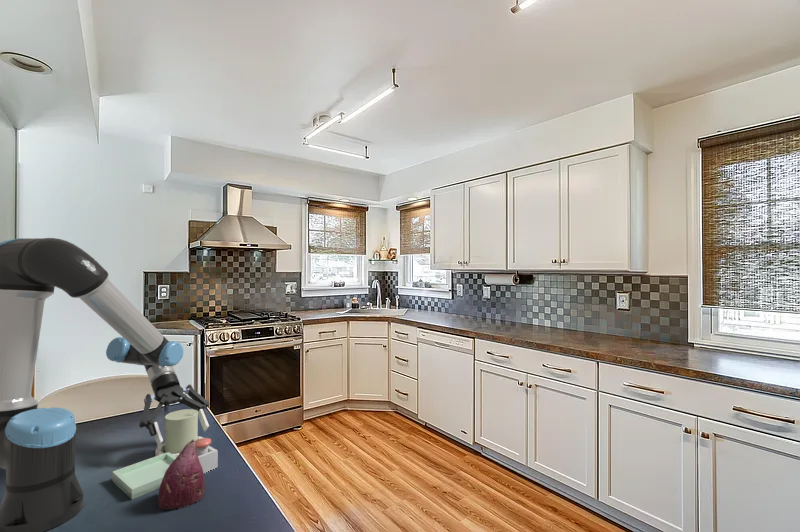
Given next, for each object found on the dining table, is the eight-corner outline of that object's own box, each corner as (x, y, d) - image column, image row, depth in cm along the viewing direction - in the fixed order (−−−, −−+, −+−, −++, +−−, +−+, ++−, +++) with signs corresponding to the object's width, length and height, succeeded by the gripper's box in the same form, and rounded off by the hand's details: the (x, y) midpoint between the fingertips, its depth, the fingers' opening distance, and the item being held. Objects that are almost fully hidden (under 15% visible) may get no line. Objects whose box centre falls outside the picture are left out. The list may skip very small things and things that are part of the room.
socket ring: (167, 466, 111) (167, 460, 111) (148, 453, 120) (148, 447, 120) (214, 449, 122) (214, 443, 122) (193, 437, 130) (193, 432, 130)
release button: (197, 469, 107) (197, 446, 107) (189, 464, 110) (189, 442, 110) (214, 462, 110) (214, 440, 111) (206, 458, 113) (206, 436, 113)
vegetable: (192, 495, 103) (204, 434, 107) (210, 505, 96) (222, 439, 101) (148, 503, 95) (162, 436, 99) (165, 514, 89) (179, 442, 93)
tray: (132, 499, 95) (132, 489, 95) (112, 480, 104) (112, 471, 104) (190, 475, 107) (190, 466, 107) (168, 460, 115) (168, 451, 115)
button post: (196, 477, 106) (196, 458, 106) (185, 470, 109) (186, 452, 109) (217, 468, 111) (217, 450, 111) (207, 461, 114) (207, 444, 114)
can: (187, 458, 116) (188, 418, 116) (157, 458, 116) (157, 418, 116) (204, 444, 125) (204, 407, 125) (175, 444, 126) (176, 407, 126)
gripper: (122, 381, 117) (142, 444, 108) (205, 364, 137) (227, 416, 128) (116, 395, 121) (135, 457, 111) (197, 377, 140) (219, 428, 131)
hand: (184, 436), depth 120 cm, fingers open, 13 cm apart
